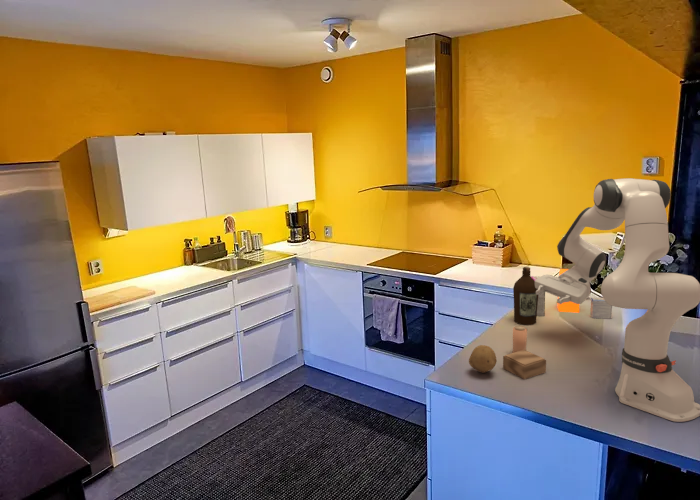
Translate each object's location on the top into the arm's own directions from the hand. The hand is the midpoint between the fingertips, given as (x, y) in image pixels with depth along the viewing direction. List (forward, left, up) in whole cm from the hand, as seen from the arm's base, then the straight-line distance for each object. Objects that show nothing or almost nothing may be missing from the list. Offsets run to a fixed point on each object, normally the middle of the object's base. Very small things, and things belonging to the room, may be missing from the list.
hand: (547, 297), depth 183 cm
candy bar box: (+29, -27, -20) cm, 44 cm away
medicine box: (+9, -45, -20) cm, 50 cm away
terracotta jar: (-1, +15, -19) cm, 25 cm away
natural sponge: (-6, +37, -20) cm, 43 cm away
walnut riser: (-12, +24, -19) cm, 33 cm away
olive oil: (+23, -13, -20) cm, 33 cm away
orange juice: (+24, -42, -20) cm, 52 cm away
